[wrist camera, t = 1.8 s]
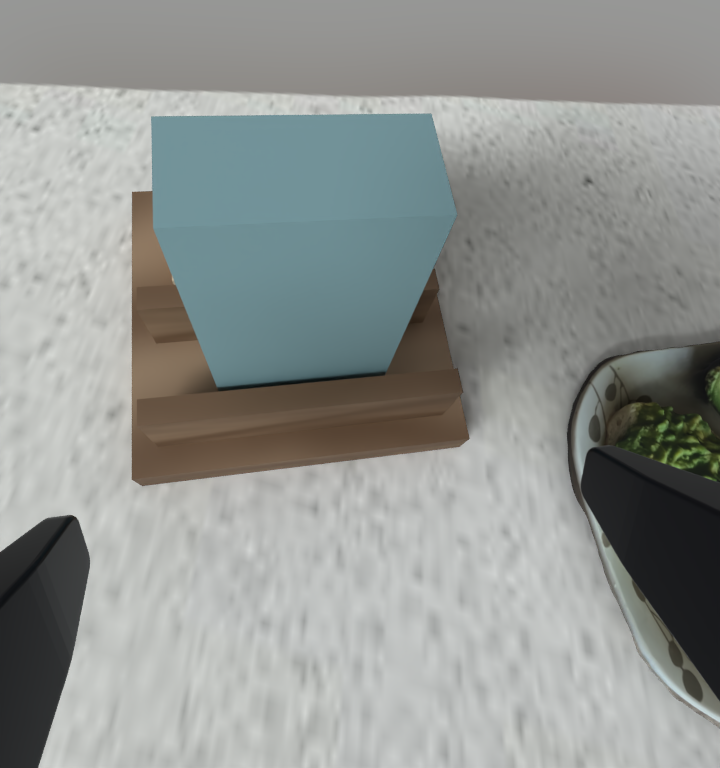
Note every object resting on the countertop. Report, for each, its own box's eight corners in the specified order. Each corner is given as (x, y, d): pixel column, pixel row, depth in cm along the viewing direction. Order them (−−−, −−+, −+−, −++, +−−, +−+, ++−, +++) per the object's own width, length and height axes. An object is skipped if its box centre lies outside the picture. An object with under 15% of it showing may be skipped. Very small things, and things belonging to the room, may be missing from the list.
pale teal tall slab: (376, 393, 23) (457, 214, 11) (225, 409, 22) (152, 228, 10) (366, 332, 24) (431, 113, 12) (221, 344, 23) (151, 116, 11)
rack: (459, 446, 24) (494, 418, 20) (142, 485, 21) (105, 463, 17) (405, 202, 28) (425, 137, 24) (140, 212, 26) (111, 142, 22)
